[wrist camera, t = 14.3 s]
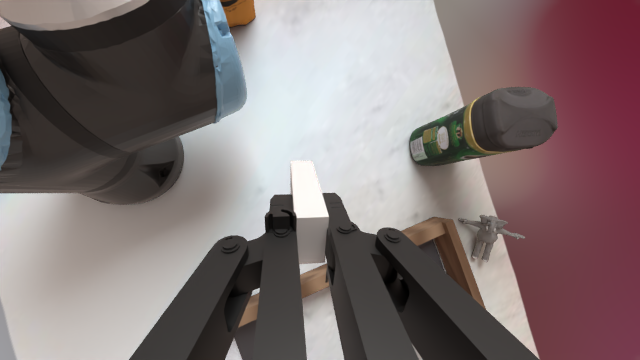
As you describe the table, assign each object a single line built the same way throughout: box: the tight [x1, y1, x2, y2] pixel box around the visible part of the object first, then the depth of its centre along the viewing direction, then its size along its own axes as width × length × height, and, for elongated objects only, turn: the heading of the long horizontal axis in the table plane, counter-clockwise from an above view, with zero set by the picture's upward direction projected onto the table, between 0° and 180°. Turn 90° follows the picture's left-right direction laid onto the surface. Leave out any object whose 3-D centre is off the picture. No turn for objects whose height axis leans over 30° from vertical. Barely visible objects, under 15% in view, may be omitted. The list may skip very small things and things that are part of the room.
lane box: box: [238, 217, 486, 327], centre depth 37 cm, size 40×24×5 cm, turn 111°
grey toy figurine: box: [459, 215, 525, 262], centre depth 42 cm, size 10×6×9 cm
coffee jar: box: [410, 87, 557, 166], centre depth 35 cm, size 10×8×19 cm
